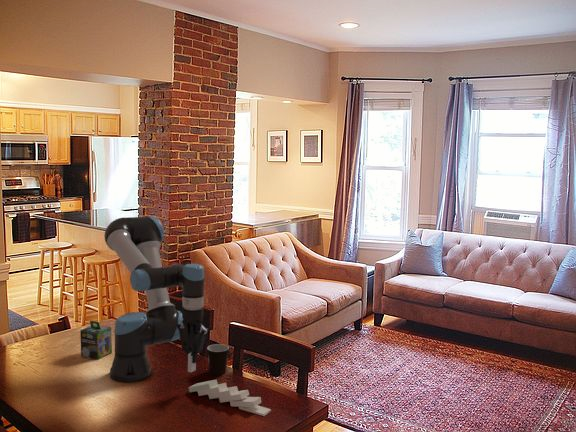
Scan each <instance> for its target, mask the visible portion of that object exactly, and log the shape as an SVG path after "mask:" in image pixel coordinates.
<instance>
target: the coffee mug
mask: <svg viewBox="0 0 576 432" xmlns="http://www.w3.org/2000/svg"><path fill="white" fill-rule="evenodd" d="M206 349H207V359H208V360H207V361H208V371H209V374H210V375H212V376H222V375H225V374H226V373H227V372H226V371H227V366H228V357H229V352H230V347H229V346H228V345H227V344H223V343H215V344H210V345H208V346H207V348H206Z"/></svg>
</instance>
